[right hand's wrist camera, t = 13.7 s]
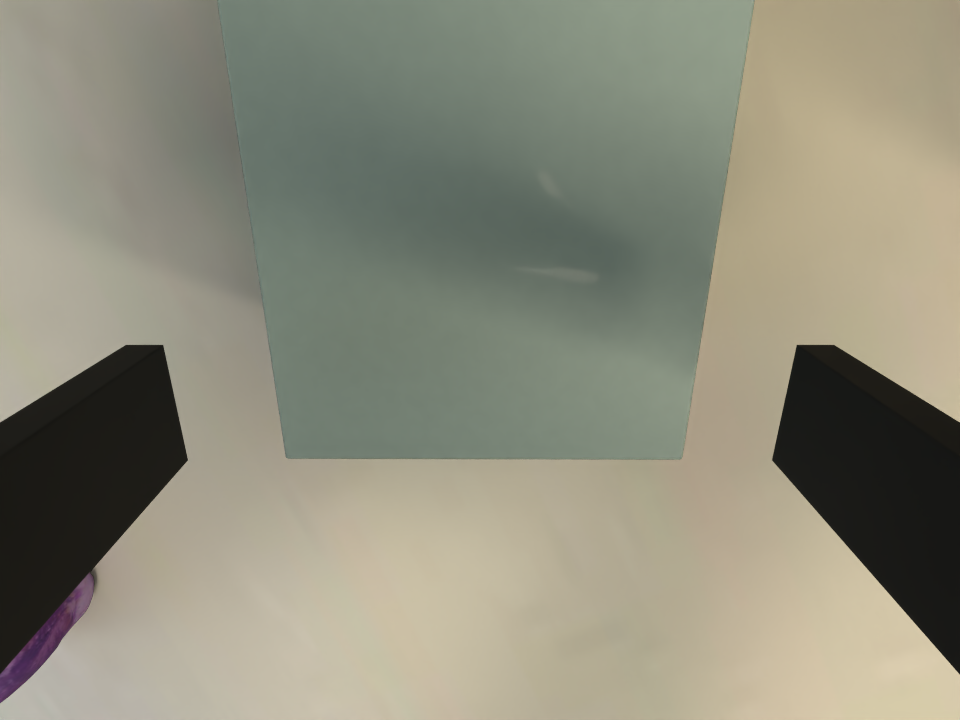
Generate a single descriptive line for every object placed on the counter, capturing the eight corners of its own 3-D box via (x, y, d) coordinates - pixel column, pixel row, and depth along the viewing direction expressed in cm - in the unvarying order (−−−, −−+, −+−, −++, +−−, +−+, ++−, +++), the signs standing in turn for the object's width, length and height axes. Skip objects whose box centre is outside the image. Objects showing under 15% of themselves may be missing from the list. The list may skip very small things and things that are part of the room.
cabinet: (296, -307, 17) (102, -746, 8) (674, -309, 17) (876, -750, 8) (354, 339, 25) (285, 460, 16) (612, 339, 25) (682, 460, 16)
